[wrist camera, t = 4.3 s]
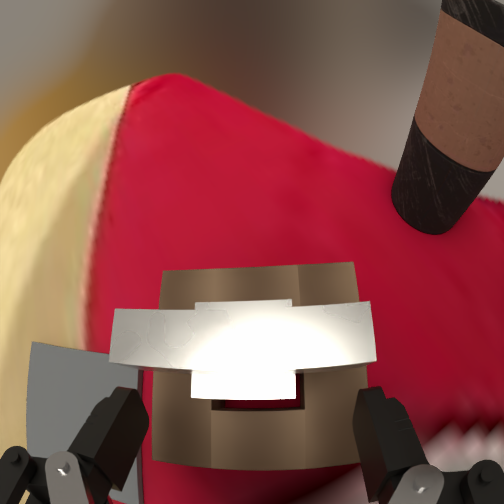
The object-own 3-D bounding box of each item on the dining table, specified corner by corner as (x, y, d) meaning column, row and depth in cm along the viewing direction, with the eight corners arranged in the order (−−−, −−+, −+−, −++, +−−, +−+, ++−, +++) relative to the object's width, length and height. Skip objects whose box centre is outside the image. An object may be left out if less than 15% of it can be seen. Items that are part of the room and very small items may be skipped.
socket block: (342, 285, 21) (353, 261, 17) (352, 449, 15) (369, 460, 12) (181, 292, 22) (163, 270, 18) (175, 450, 16) (152, 459, 13)
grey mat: (143, 358, 20) (139, 357, 19) (143, 504, 14) (139, 507, 13) (37, 343, 21) (32, 341, 20) (33, 461, 15) (28, 461, 14)
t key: (320, 344, 19) (365, 274, 8) (322, 394, 17) (378, 389, 7) (204, 348, 20) (119, 284, 9) (203, 396, 18) (107, 387, 8)
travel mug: (429, 252, 21) (549, 35, 4) (371, 191, 25) (420, -32, 7) (469, 214, 23) (559, 43, 5) (418, 162, 26) (469, -13, 8)
